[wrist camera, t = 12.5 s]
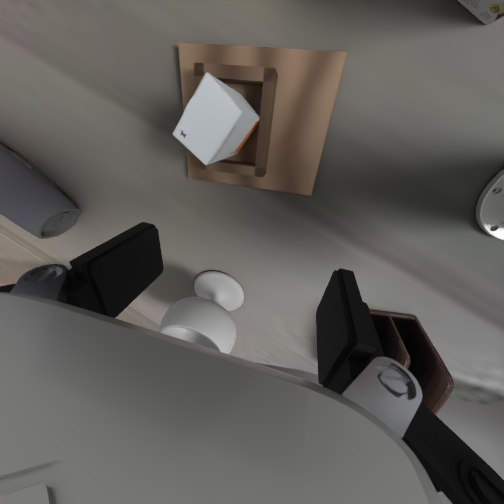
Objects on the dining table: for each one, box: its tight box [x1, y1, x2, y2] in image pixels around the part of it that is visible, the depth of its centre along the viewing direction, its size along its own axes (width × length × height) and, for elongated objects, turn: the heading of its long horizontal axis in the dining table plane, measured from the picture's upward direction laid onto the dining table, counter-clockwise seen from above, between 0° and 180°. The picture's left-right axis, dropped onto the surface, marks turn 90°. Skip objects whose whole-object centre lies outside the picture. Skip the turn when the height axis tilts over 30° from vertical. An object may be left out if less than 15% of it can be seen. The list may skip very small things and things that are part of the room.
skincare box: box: [173, 72, 260, 165], centre depth 23 cm, size 6×4×12 cm
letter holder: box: [369, 310, 454, 415], centre depth 39 cm, size 10×20×14 cm, turn 1°
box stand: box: [178, 42, 347, 196], centre depth 27 cm, size 20×16×4 cm
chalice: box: [159, 271, 244, 354], centre depth 41 cm, size 14×14×15 cm
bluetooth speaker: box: [0, 143, 81, 239], centre depth 36 cm, size 23×9×10 cm, turn 46°
